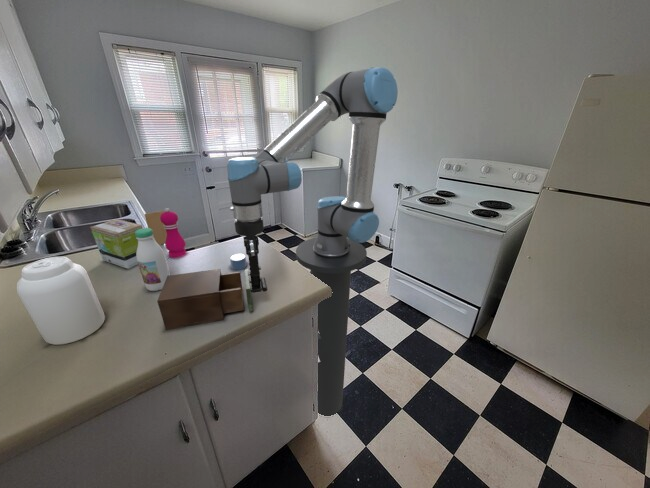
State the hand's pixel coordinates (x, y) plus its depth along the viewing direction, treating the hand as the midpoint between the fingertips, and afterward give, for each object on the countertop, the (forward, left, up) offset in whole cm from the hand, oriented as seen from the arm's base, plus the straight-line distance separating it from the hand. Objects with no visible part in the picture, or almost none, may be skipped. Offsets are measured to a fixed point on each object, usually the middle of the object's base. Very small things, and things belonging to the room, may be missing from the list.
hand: (256, 290), depth 83 cm
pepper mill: (+29, -41, -4) cm, 51 cm away
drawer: (+6, 0, -3) cm, 7 cm away
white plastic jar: (+47, -1, -4) cm, 47 cm away
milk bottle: (+31, -18, -4) cm, 36 cm away
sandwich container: (+39, -61, -4) cm, 73 cm away
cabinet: (+17, 0, -4) cm, 18 cm away
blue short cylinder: (+5, -24, -4) cm, 25 cm away
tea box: (+47, -41, -4) cm, 63 cm away
